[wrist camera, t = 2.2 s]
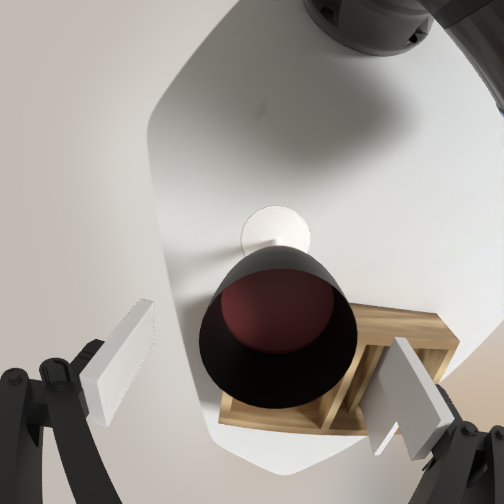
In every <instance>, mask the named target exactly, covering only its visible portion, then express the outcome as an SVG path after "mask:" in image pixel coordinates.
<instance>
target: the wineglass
mask: <svg viewBox="0 0 504 504" xmlns="http://www.w3.org/2000/svg"><path fill="white" fill-rule="evenodd" d="M241 243H242V249H243V251H244V253H245V256H246V257H245V258H243V259H242V260H241V261H239V262H238V263H237V264H236V265H235V266H234V267H233V268H232V269H231V270H230V272H229V273H228V274H227V276H226V277H225V278H224V280H223V281H222V283H221V284H220V286H219V288H218V289H217V291H216V293H215V294H214V296H213V298H212V300H211V302H210V304H209V306H208V308H207V311H206V313H205V315H204V318H203V320H202V324H201V328H200V334H199V348H200V354H201V358H202V362H203V364H204V366H205V368H206V371H207V373H208V374H209V375H210V377H211V378H212V380H213V381H214V382H215V383H216V384H217V385H218V387H219V388H220V389H222V390H223V391H224V392H225V393H227V394H228V395H229V396H231V397H233V398H234V399H236V400H238V401H240V402H243V403H245V404H248V405H251V406H255V407H259V408H266V409H285V408H292V407H297V406H301V405H304V404H306V403H309V402H312V401H314V400H316V399H317V398H319V397H321V396H323V395H324V394H326V393H327V392H328V391H330V390H331V389H332V388H333V387H334V386H335V385H336V384H337V383H339V381H340V380H341V379H342V378H343V376H344V375H345V374H346V372H347V371H348V369H349V367H350V365H351V363H352V361H353V358H354V356H355V352H356V348H357V340H358V330H357V324H356V319H355V316H354V313H353V311H352V308H351V306H350V304H349V303H348V301H347V299H346V297H345V295H344V294H343V292H342V290H341V289H340V287H339V285H338V284H337V283H336V281H335V280H334V278H333V277H332V276H331V274H330V273H329V272H328V271H327V270H326V269H325V268H324V266H323V265H321V264H320V263H319V262H318V261H316V260H315V259H314V258H313V257H311V256H310V255H308V254H307V253H308V249H309V246H310V232H309V229H308V227H307V224H306V222H305V221H304V220H303V219H302V217H301V216H300V215H299V214H298V213H296V212H294V211H293V210H291V209H289V208H285V207H281V206H270V207H266V208H263V209H261V210H258V211H257V212H255V213H254V214H253V215H252V216H251V217H249V219H248V220H247V222H246V224H245V225H244V227H243V231H242V235H241Z"/></svg>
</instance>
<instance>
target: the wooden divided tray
mask: <svg viewBox="0 0 504 504" xmlns="http://www.w3.org/2000/svg"><path fill="white" fill-rule="evenodd" d="M349 304H350V306H351V308H352V311H353V313H354V316H355V319H356V324H357V330H358V340H357V348H356V352H355V356H354V358H353V361H352V363H351V365H350V367H349V369H348V371H347V372H346V374H345V375H344V376H343V378H342V379H341V380H340V381H339V383H337V384H336V385H335V386H334V387H333V388H332V389H331V390H330V391H328V392H327V393H326V394H324V395H323V396H321V397H319V398H317V399H316V400H314V401H312V402H309V403H306V404H304V405H301V406H297V407H292V408H285V409H266V408H259V407H255V406H251V405H248V404H245V403H243V402H240V401H238V400H236V399H234V398H233V397H231V396H229V395H228V394H227V393H225V392H224V391H223V392H222V399H221V407H220V414H219V421H218V423H219V424H225V425H231V426H238V427H244V428H251V429H259V430H267V431H277V432H287V433H299V434H315V435H343V436H368V432H367V429H366V425H365V421H364V418H363V414H362V411H361V407H360V404H359V401H360V399H361V397H362V395H363V393H364V391H365V389H366V387H367V385H368V383H369V380H370V378H371V376H372V374H373V372H374V369H375V367H376V365H377V363H378V360H379V358H380V356H381V353H382V351H383V349H384V346H391V344H392V341H393V339H394V337H402V338H406V339H407V341H408V342H409V344H410V345H411V347H412V348H413V350H414V352H415V353H416V355H417V356H418V358H419V360H420V361H421V363H422V364H423V366H424V368H425V369H426V371H427V372H428V374H429V376H430V377H431V379H432V381H433V382H434V384H438V383H439V381H440V379H441V378H442V376H443V374H444V372H445V370H446V368H447V366H448V364H449V363H450V361H451V359H452V357H453V355H454V353H455V351H456V349H457V346H458V344H459V342H460V341H459V339H458V338H457V337H456V336H455V335H454V333H453V332H452V331H451V330H450V329H449V328H448V326H447V325H446V324H445V323H444V322H443V321H442V319H441V318H440V317H439V316H438V315H437V314H436V313H427V312H418V311H410V310H402V309H394V308H386V307H378V306H370V305H363V304H355V303H349ZM395 434H401V431H400V429H399V427H398V429H397V430H396V432H395V433H394V435H395Z"/></svg>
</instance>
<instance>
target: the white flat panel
mask: <svg viewBox="0 0 504 504" xmlns="http://www.w3.org/2000/svg"><path fill="white" fill-rule="evenodd" d="M389 349H390V346H384V349H383V351H382V353H381V356H380V358H379V360H378V363H377V365H376V367H375V369H374V372H373V374H372V376H371V378H370V380H369V383H368V385H367V387H366V389H365V391H364V393H363V395H362V397H361V399H360V401H359V404H360V407H361V411H362V414H363V418H364V421H365V425H366V429H367V432H368V436H369V440H370V444H371V447H372V451H373V455H380V453H381V452H382V451H383V449H384V448H385V446H386V445H387V443H388V442H389V440H390V439H391V438H392V436H393V435H394V433H395V432H396V430H397V429H398V427H399V426H398V424H397V421H396V418H395V416H394V413H393V411H392V408H391V406H390V403H389V401H388V398H387V396H386V394H385V391H384V389H383V386H382V384H381V382H380V379H379V377H378V374H379V371H380V369H381V367H382V365H383V363H384V360H385V358H386V356H387V353H388V351H389Z"/></svg>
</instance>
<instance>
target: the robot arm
mask: <svg viewBox="0 0 504 504" xmlns="http://www.w3.org/2000/svg"><path fill="white" fill-rule="evenodd" d="M303 2H304V5H305V7H306V9H307V11H308V13H309V15H310V16H311V18H312V19H313V20H314V22H315V23H316V24H317V25H318V26H319V27H320V28H321V29H322V30H323V31H324V32H325V33H326V34H328V35H329V36H330V37H332V38H333V39H334V40H336V41H338V42H339V43H341V44H343V45H345V46H347V47H349V48H351V49H353V50H356V51H359V52H362V53H366V54H371V55H377V56H392V55H398V54H401V53H404V52H407V51H409V50H410V49H412V48H413V47H415V46H416V45H418V44H419V43H421V42H422V41H423V40H424V39H425V37H426V36H427V35H428V33H429V32H430V29H431V27H432V24H433V21H434V18H435V20H436V21H437V22H438V23H439V24H440V25H441V26H442V27H443V29H444V30H445V32H446V33H447V34H448V35H449V36H450V37H451V39H452V40H453V41H454V42H455V44H456V45H457V46H458V47H459V49H460V50H461V51H462V52H463V54H464V55H465V56H466V58H467V59H468V60H469V62H470V63H471V65H472V66H473V67H474V69H475V70H476V72H477V73H478V74H479V76H480V77H481V79H482V80H483V82H484V83H485V85H486V86H487V88H488V90H489V91H490V93H491V95H492V96H493V98H494V100H495V101H496V105H497V108H498V109H499V111H500V113H501V114H502V116H503V117H504V0H303ZM153 344H154V302H153V301H150V300H145V299H140V300H139V301H138V302H137V304H136V305H135V306H134V307H133V308H132V310H131V311H130V312H129V313H128V315H127V316H126V317H125V318H124V319H123V321H122V322H121V323H120V324H119V325H118V327H117V328H116V329H115V330H114V331H113V333H112V334H111V335H110V336H109V338H108V339H107V340H106V341H101V340H98V339H95V340H93V341H91V342H89V343H87V345H86V346H85V347H84V348H83V349H82V351H81V352H80V353H79V354H78V355H77V356H76V357H75V359H74V360H73V361H72V362H71V363H70V364H69V363H68V362H67V361H66V360H64V359H61V358H50V359H47V360H45V361H44V362H43V363H42V364H41V365H40V368H39V372H40V375H41V379H42V381H40V380H33V379H29V377H28V374H27V373H26V371H24V370H23V369H20V368H11V369H9V370H7V371H5V372H4V373H3V375H2V376H1V379H0V504H43V500H42V446H43V429H44V427H51V428H53V432H54V436H55V440H56V443H57V447H58V450H59V454H60V457H61V461H62V464H63V467H64V470H65V473H66V476H67V479H68V482H69V485H70V488H71V491H72V493H73V496H74V498H75V501H76V504H122V502H121V500H120V498H119V497H118V494H117V492H116V490H115V488H114V486H113V484H112V482H111V480H110V478H109V476H108V473H107V471H106V469H105V467H104V465H103V462H102V460H101V457H100V455H99V452H98V450H97V448H96V445H95V443H94V440H93V438H92V435H91V432H90V429H89V427H88V424H87V421H86V417H87V416H88V414H89V416H90V419H91V422H92V423H95V424H98V425H101V426H103V427H106V428H107V427H108V426H109V424H110V422H111V420H112V418H113V416H114V414H115V412H116V411H117V409H118V407H119V405H120V403H121V401H122V400H123V398H124V396H125V394H126V392H127V390H128V389H129V387H130V385H131V383H132V382H133V380H134V378H135V376H136V374H137V373H138V371H139V369H140V367H141V366H142V364H143V362H144V360H145V358H146V357H147V355H148V353H149V351H150V350H151V348H152V346H153ZM378 377H379V379H380V382H381V384H382V386H383V389H384V391H385V394H386V396H387V398H388V401H389V403H390V406H391V408H392V411H393V413H394V416H395V418H396V421H397V424H398V426H399V429H400V431H401V434H402V437H403V439H404V442H405V445H406V447H407V450H408V452H409V455H410V458H411V460H418V459H425V457H426V456H427V455H428V454H429V452H430V451H432V454H433V457H432V458H431V460H430V461H429V462H428V463H427V464H426V466H425V467H424V468H423V469H422V470H423V471H424V470H425V469H426V470H425V472H424V474H423V476H422V478H421V480H420V483H419V484H418V486H417V488H416V490H415V492H414V494H413V496H412V498H411V499H410V502H409V503H408V504H459V503H460V504H504V427H502V426H497V425H496V426H494V427H493V428H492V429H491V430H490V432H489V433H487V432H479V431H478V428H477V427H476V426H475V425H474V424H472V423H471V422H468V421H463V420H462V418H461V417H460V415H459V413H458V411H457V410H456V408H455V406H454V405H453V404H452V401H451V399H450V398H449V396H448V395H447V393H446V392H445V390H444V389H443V388H442V387H441V386H440V385H438V384H434V382H433V381H432V379H431V377H430V376H429V374H428V372H427V371H426V369H425V368H424V366H423V364H422V363H421V361H420V360H419V358H418V356H417V355H416V353H415V352H414V350H413V348H412V347H411V345H410V344H409V342H408V341H407V339H406V338H402V337H394V339H393V341H392V344H391V346H390V349H389V351H388V353H387V356H386V358H385V360H384V363H383V365H382V367H381V369H380V371H379V374H378Z"/></svg>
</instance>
